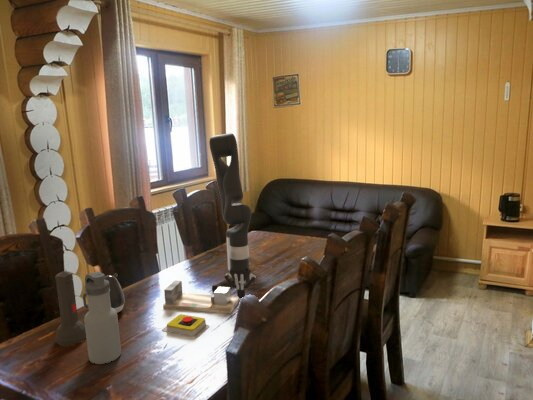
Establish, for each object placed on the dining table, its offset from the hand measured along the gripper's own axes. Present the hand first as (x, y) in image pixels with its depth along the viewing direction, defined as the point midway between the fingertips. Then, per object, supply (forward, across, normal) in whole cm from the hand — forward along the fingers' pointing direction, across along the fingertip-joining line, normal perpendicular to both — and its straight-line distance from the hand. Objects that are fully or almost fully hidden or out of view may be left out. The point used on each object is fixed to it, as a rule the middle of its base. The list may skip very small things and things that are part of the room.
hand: (241, 297), depth 172 cm
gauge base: (+4, +17, 0) cm, 17 cm away
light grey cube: (+2, +8, 0) cm, 8 cm away
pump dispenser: (+4, +50, +12) cm, 51 cm away
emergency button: (+5, +15, +20) cm, 26 cm away
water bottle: (+4, +34, +42) cm, 54 cm away
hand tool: (+4, +12, -20) cm, 24 cm away
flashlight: (+4, +52, +34) cm, 62 cm away
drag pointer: (+2, +11, +2) cm, 11 cm away
